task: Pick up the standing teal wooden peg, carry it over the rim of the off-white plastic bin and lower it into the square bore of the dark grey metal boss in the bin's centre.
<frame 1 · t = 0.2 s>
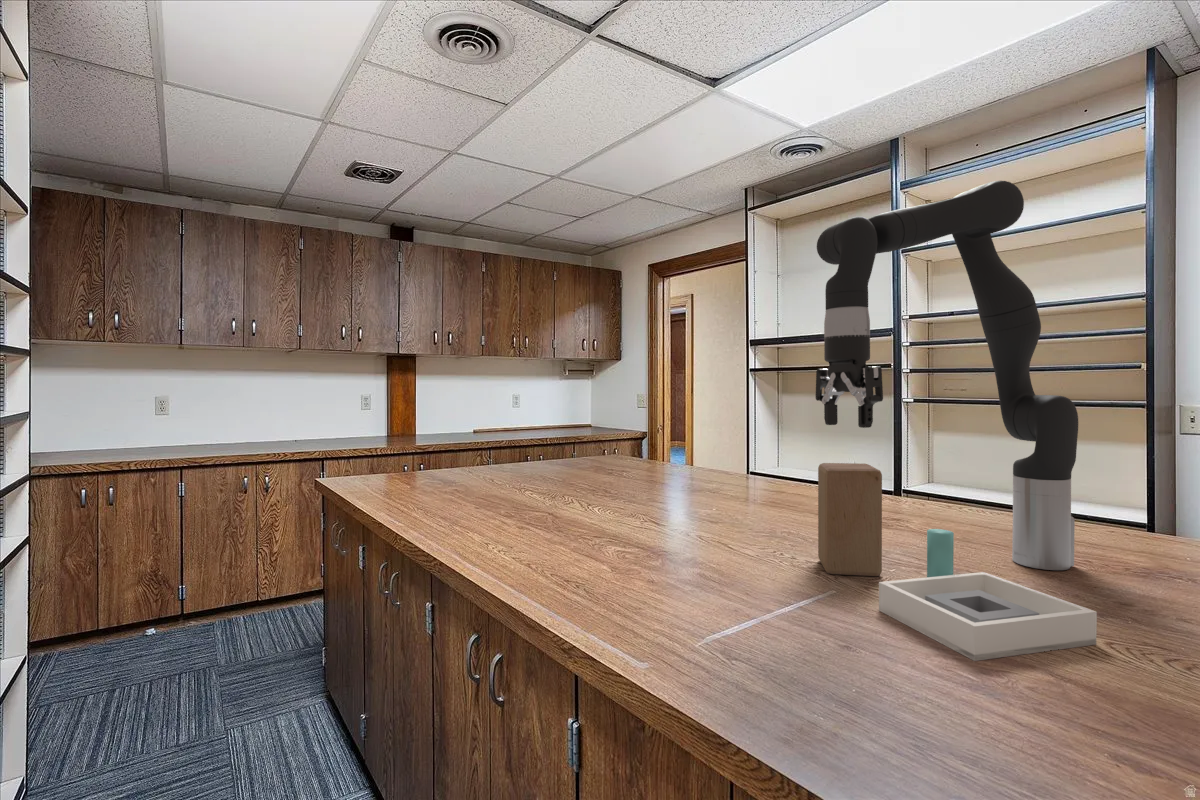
hand: (847, 426, 107), 28 cm above the table, fingers open, 8 cm apart
peg: (939, 588, 104), on the table
bin: (979, 626, 88), on the table
wooden block: (848, 569, 116), on the table
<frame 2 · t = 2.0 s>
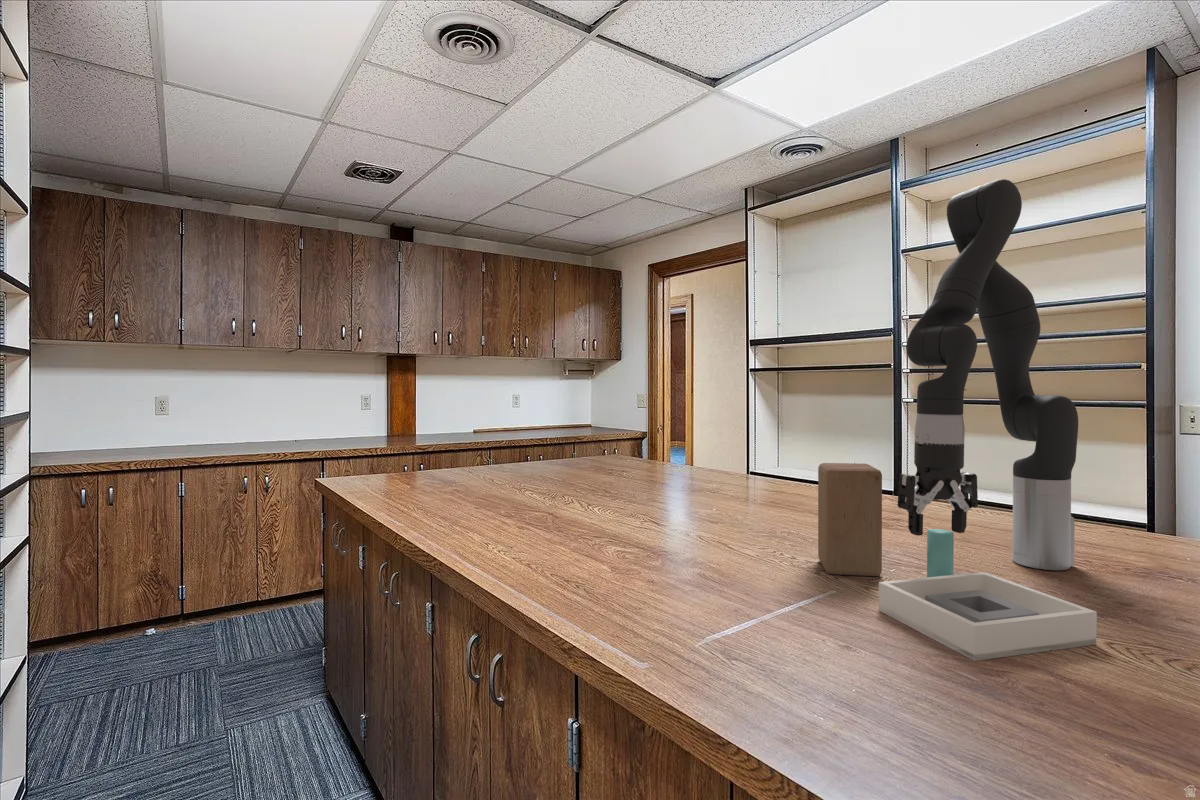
hand: (937, 533, 104), 10 cm above the table, fingers open, 8 cm apart
nothing on the table moved.
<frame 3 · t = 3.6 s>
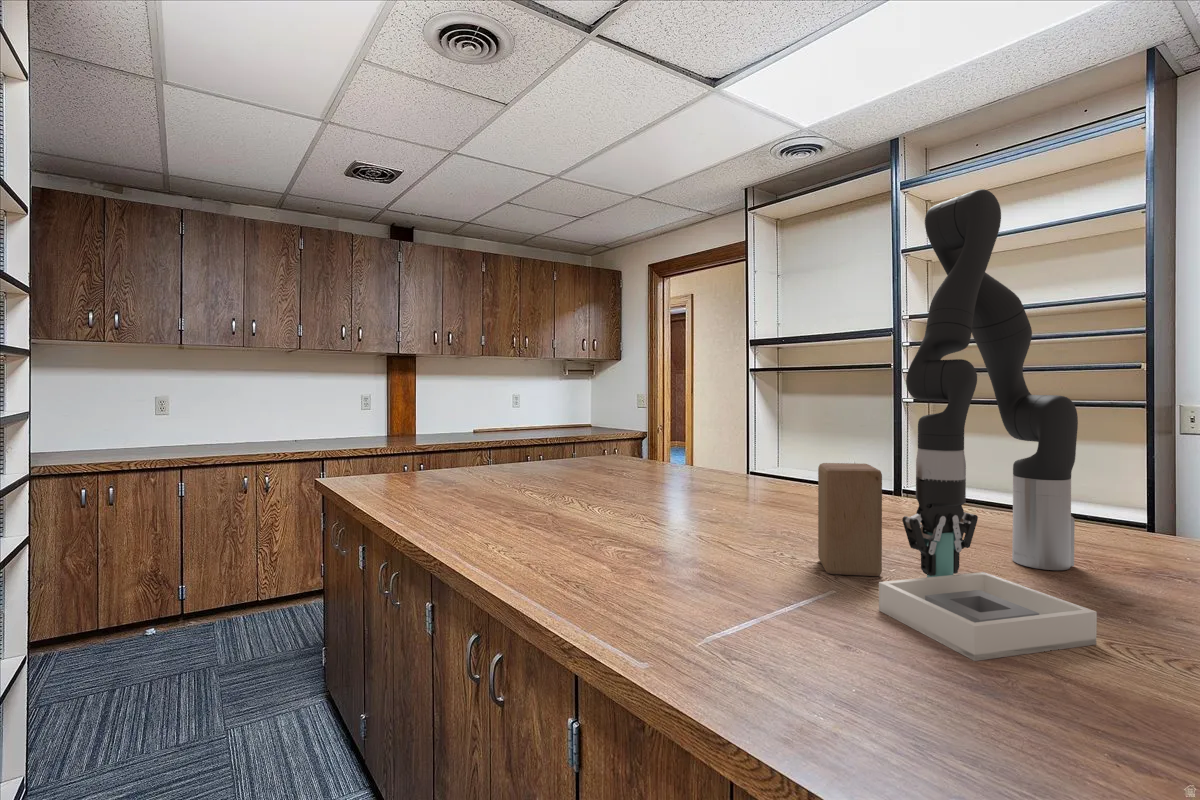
hand: (939, 572, 104), 3 cm above the table, fingers closed on peg, 4 cm apart
peg: (940, 588, 104), on the table, touching gripper
everything else where it was.
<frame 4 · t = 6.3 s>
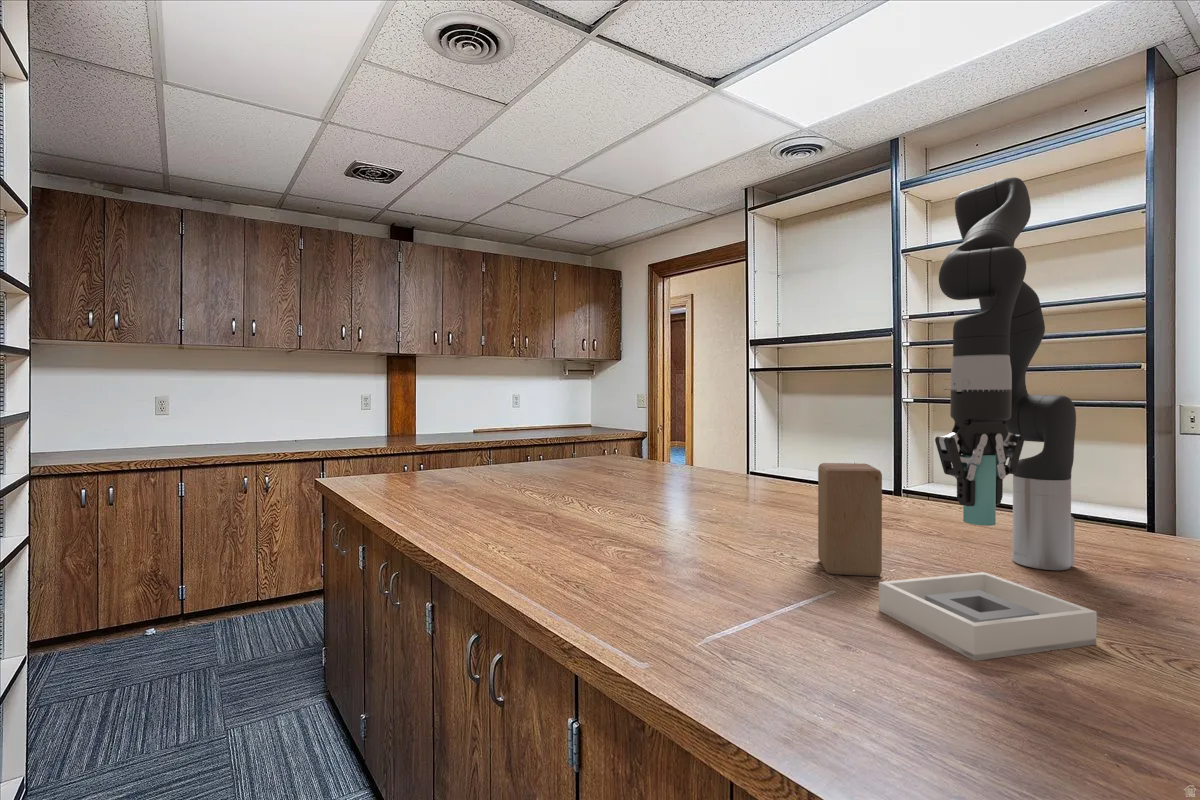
hand: (979, 503, 88), 18 cm above the table, fingers closed on peg, 4 cm apart
peg: (979, 522, 88), point 15 cm above the table, touching gripper
everything else where it was.
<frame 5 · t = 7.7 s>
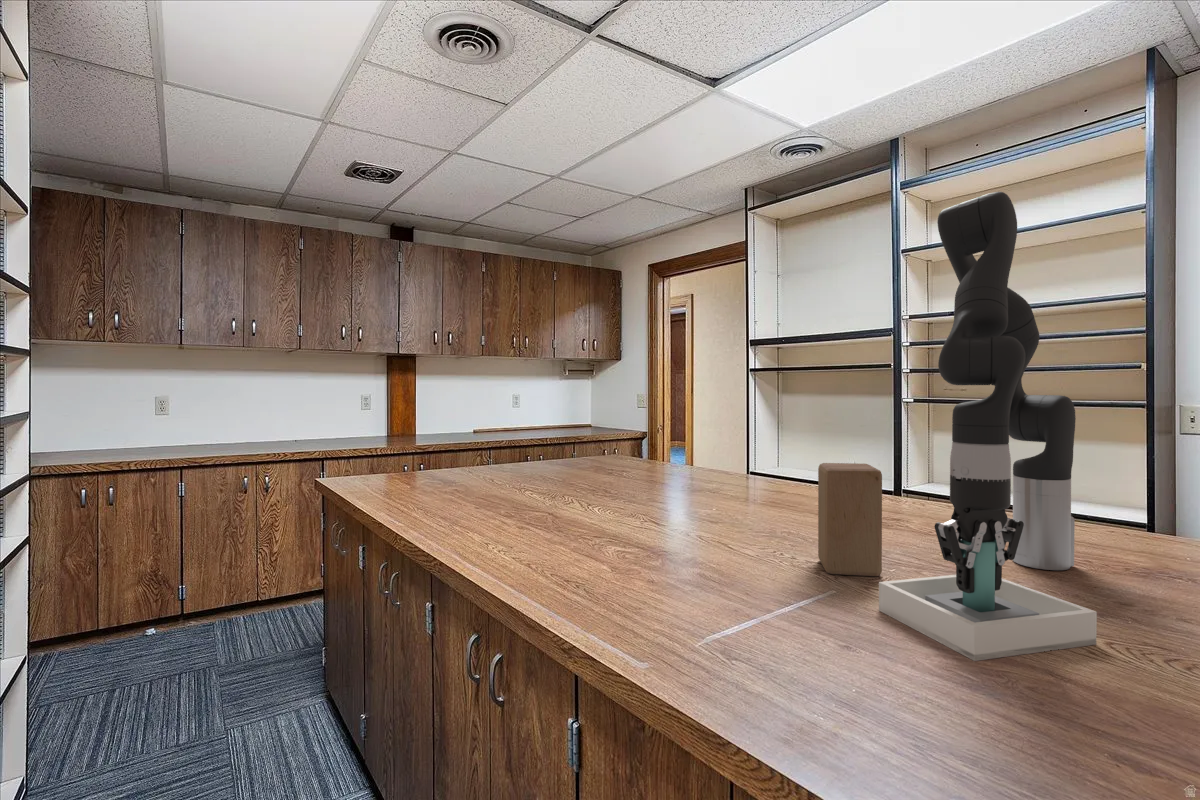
hand: (978, 589, 88), 5 cm above the table, fingers closed on peg, 4 cm apart
peg: (978, 608, 88), point 3 cm above the table, touching gripper
everything else where it was.
when the fingers open (5 cm above the table, at t = 8.8 s): peg drops 1 cm, resting on bin.
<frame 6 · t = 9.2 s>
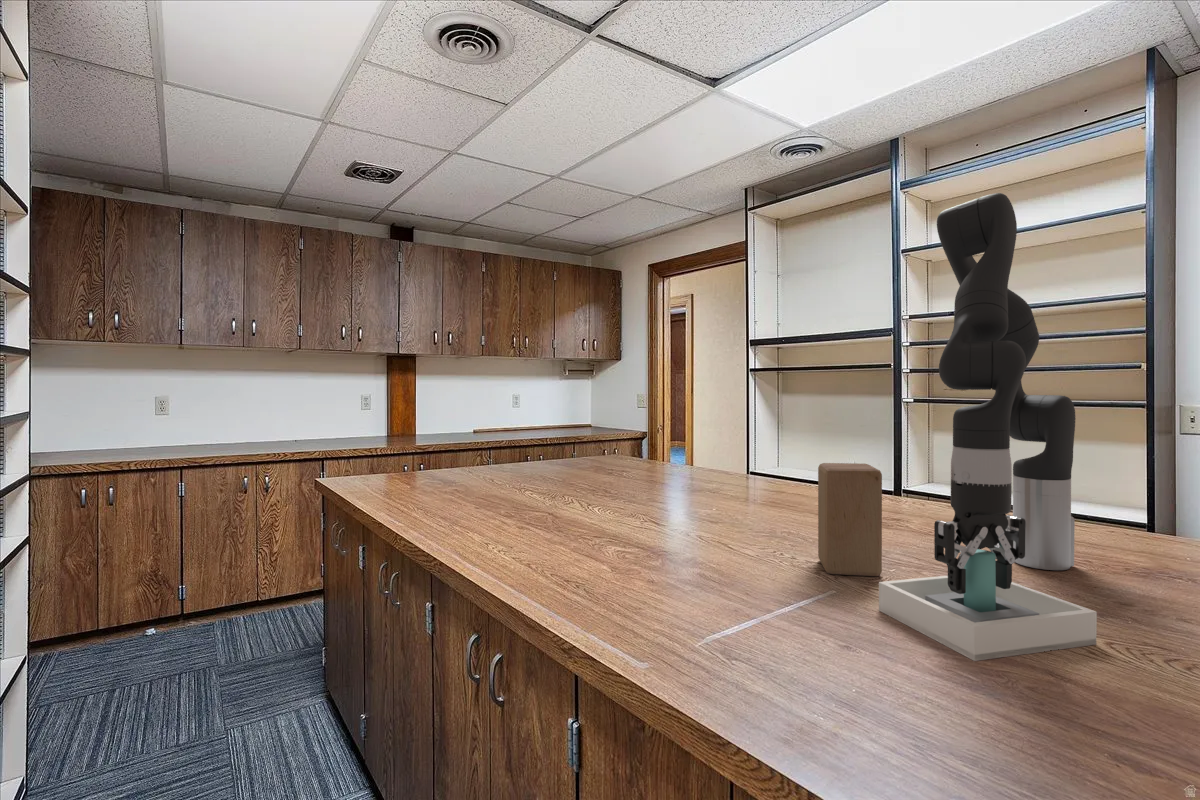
hand: (979, 589, 88), 5 cm above the table, fingers open, 7 cm apart
peg: (979, 620, 88), point 1 cm above the table, touching bin
everything else where it was.
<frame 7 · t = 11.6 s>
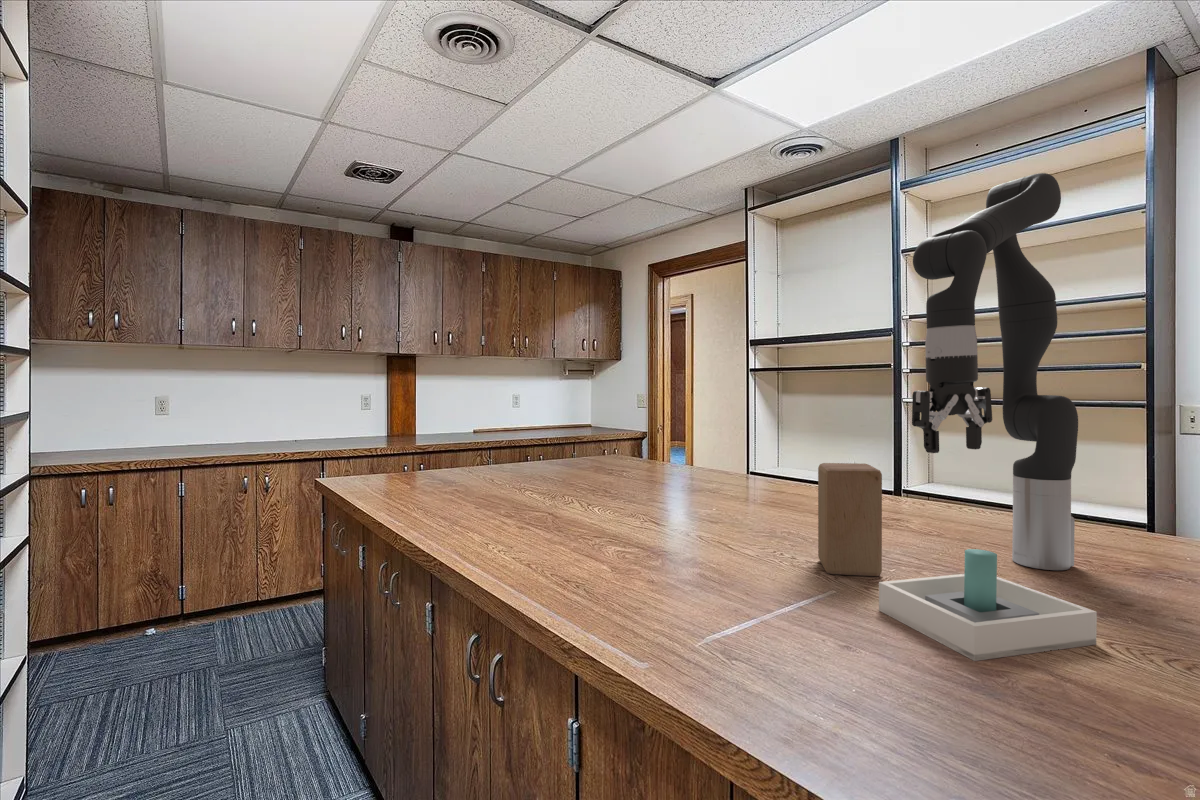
hand: (953, 450, 101), 24 cm above the table, fingers open, 8 cm apart
nothing on the table moved.
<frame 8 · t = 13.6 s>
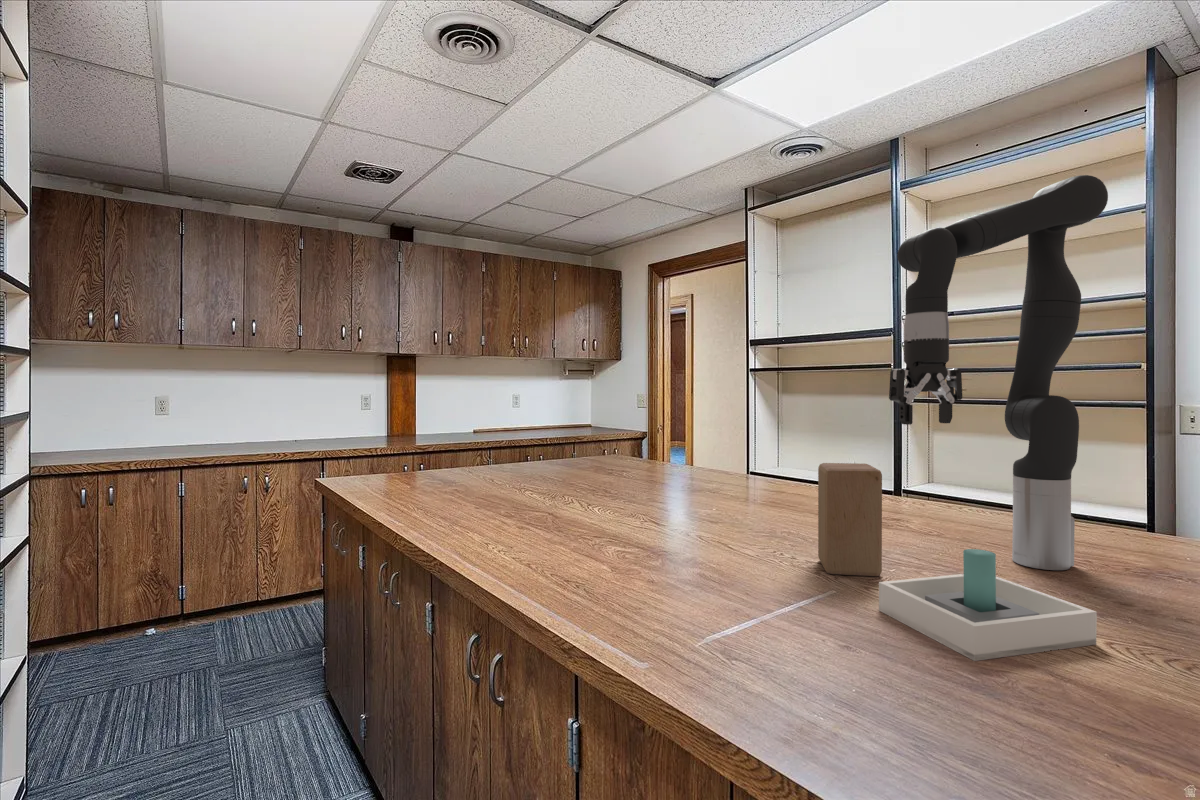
hand: (925, 423, 113), 28 cm above the table, fingers open, 8 cm apart
nothing on the table moved.
at the end: peg 0.1 cm from the target spot, point 0.8 cm above the table; peg tilted 1°; the gripper is holding nothing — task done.
